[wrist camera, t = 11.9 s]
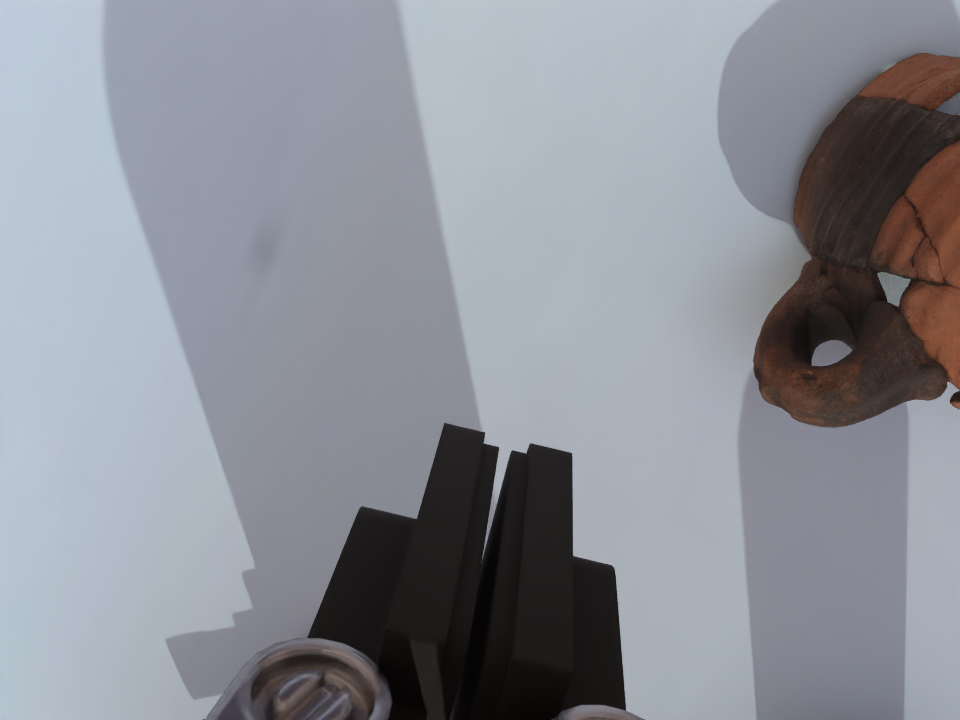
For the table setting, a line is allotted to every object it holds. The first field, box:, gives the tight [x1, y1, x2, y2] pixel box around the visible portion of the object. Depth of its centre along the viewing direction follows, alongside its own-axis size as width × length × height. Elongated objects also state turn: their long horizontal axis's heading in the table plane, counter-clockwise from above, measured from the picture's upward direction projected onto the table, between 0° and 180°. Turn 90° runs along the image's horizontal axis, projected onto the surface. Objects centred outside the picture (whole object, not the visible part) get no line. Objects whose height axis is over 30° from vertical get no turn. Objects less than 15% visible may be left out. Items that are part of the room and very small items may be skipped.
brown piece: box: [753, 53, 960, 427], centre depth 24 cm, size 12×10×8 cm
